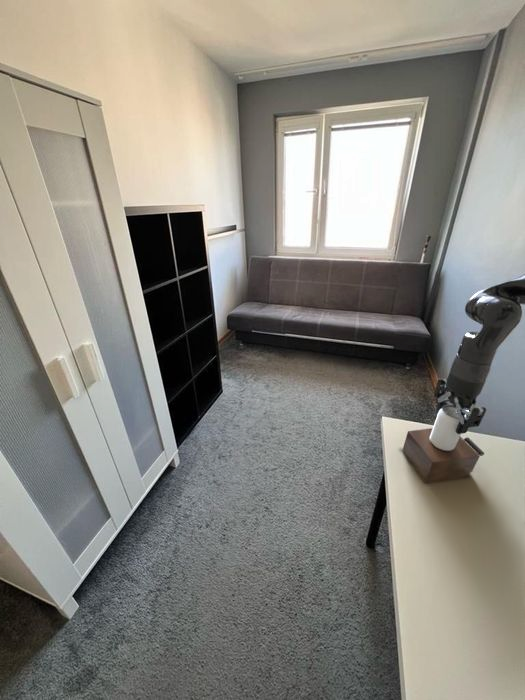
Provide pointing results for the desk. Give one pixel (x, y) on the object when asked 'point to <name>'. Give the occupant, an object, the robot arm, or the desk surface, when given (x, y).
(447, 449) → the can
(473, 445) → the drawer
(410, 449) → the cabinet
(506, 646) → the desk surface
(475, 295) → the robot arm
